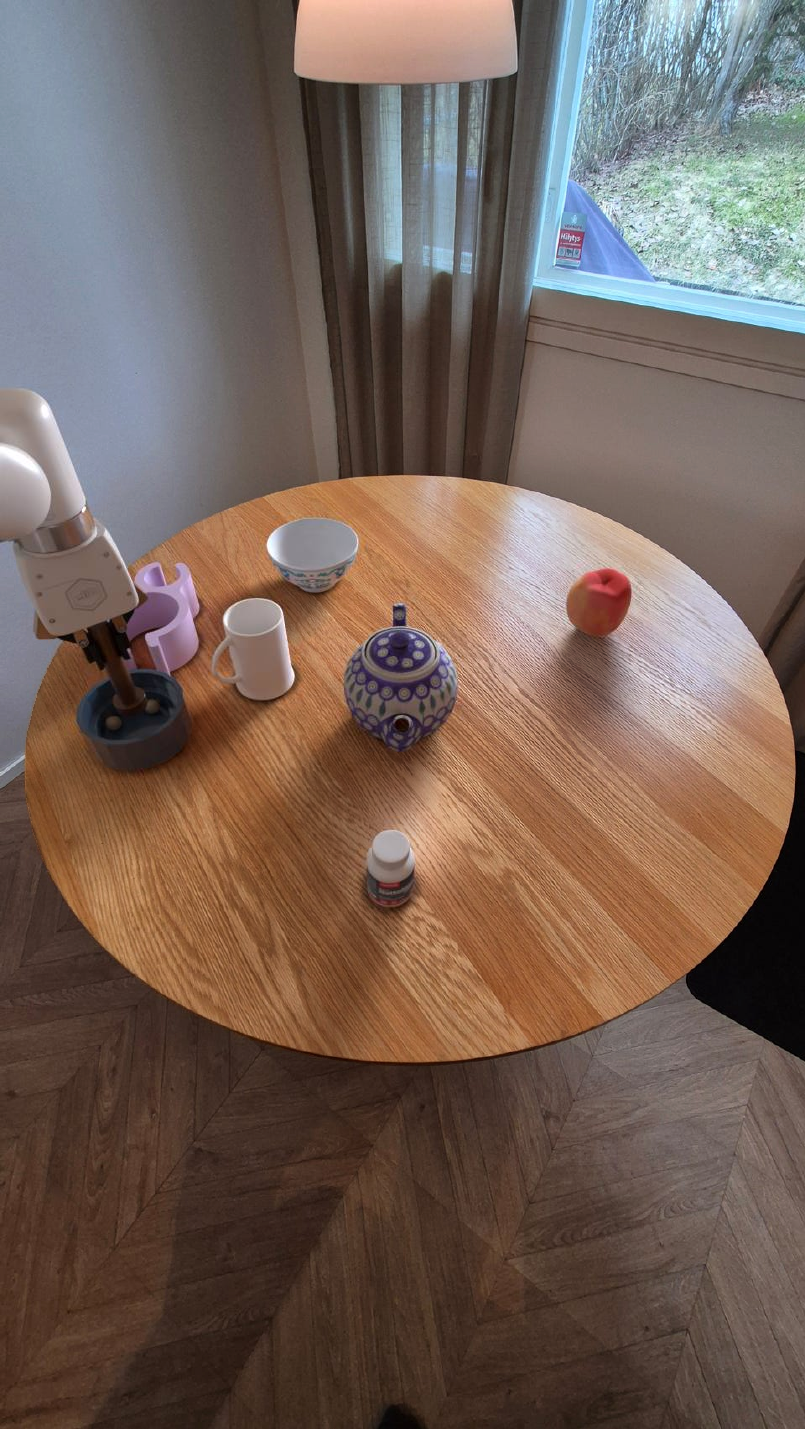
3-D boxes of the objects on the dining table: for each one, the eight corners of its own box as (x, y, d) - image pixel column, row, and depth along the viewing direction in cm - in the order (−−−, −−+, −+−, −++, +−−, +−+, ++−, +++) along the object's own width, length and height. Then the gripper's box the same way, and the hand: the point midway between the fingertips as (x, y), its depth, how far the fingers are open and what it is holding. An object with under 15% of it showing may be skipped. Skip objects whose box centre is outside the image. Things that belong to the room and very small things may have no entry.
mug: (235, 720, 92) (218, 657, 83) (205, 686, 97) (186, 623, 88) (305, 682, 97) (297, 619, 88) (274, 652, 102) (263, 589, 93)
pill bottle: (376, 914, 73) (375, 875, 67) (360, 875, 76) (357, 834, 70) (420, 898, 74) (423, 858, 68) (403, 860, 78) (404, 818, 71)
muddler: (122, 721, 84) (84, 638, 74) (112, 702, 87) (73, 619, 76) (152, 708, 86) (119, 625, 76) (141, 690, 88) (107, 607, 78)
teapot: (353, 653, 102) (348, 573, 91) (452, 656, 102) (460, 576, 90) (337, 786, 85) (329, 706, 74) (457, 790, 85) (466, 710, 74)
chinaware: (294, 549, 120) (289, 511, 115) (372, 564, 117) (371, 526, 112) (257, 597, 111) (250, 558, 105) (340, 616, 108) (337, 577, 102)
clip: (142, 595, 111) (130, 560, 106) (216, 598, 111) (207, 563, 105) (101, 679, 97) (84, 644, 92) (184, 682, 97) (173, 647, 92)
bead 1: (111, 735, 89) (106, 725, 88) (106, 726, 90) (101, 716, 89) (125, 729, 90) (121, 719, 89) (120, 720, 91) (116, 710, 90)
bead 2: (149, 718, 91) (145, 709, 90) (144, 710, 93) (140, 700, 91) (163, 712, 92) (159, 703, 91) (158, 704, 93) (154, 694, 92)
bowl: (111, 790, 84) (95, 761, 80) (78, 725, 91) (62, 694, 87) (209, 744, 89) (199, 714, 85) (171, 686, 97) (160, 655, 92)
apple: (592, 603, 111) (606, 552, 103) (634, 635, 105) (652, 584, 98) (548, 623, 107) (560, 572, 100) (590, 657, 102) (605, 606, 94)
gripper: (-25, 569, 61) (52, 704, 75) (144, 516, 67) (186, 650, 81) (-41, 532, 65) (34, 666, 79) (119, 485, 71) (163, 617, 85)
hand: (111, 657), depth 80 cm, fingers closed on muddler, 2 cm apart
